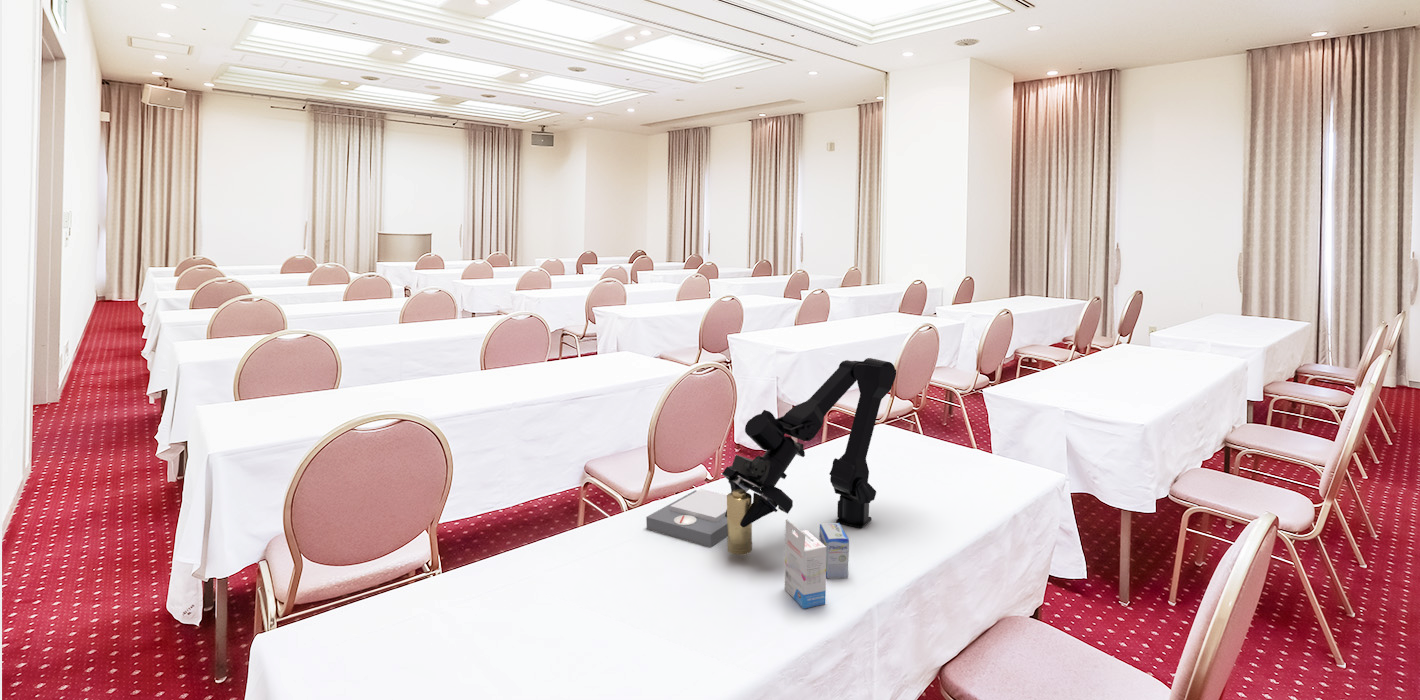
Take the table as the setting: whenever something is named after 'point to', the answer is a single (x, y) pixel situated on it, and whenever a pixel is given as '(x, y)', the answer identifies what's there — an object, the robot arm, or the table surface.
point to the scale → (693, 518)
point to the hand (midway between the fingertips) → (734, 521)
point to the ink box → (805, 567)
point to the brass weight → (738, 522)
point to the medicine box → (835, 550)
